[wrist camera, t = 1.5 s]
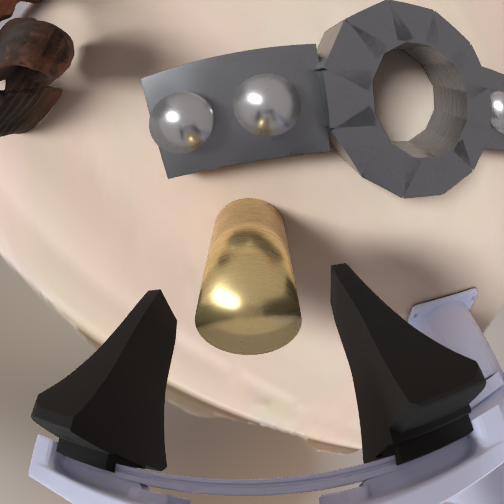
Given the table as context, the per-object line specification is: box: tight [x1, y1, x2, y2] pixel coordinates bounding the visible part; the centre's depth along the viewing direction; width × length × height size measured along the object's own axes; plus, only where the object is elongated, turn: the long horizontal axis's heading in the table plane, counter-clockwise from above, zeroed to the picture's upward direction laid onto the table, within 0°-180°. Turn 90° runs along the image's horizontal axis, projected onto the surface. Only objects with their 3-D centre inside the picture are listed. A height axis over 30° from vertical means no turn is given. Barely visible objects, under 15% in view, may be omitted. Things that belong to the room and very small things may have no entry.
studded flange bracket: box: [141, 0, 504, 198], centre depth 10 cm, size 9×24×3 cm, turn 100°
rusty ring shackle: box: [0, 0, 74, 137], centre depth 6 cm, size 12×10×8 cm
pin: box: [195, 198, 302, 355], centre depth 13 cm, size 4×4×7 cm
